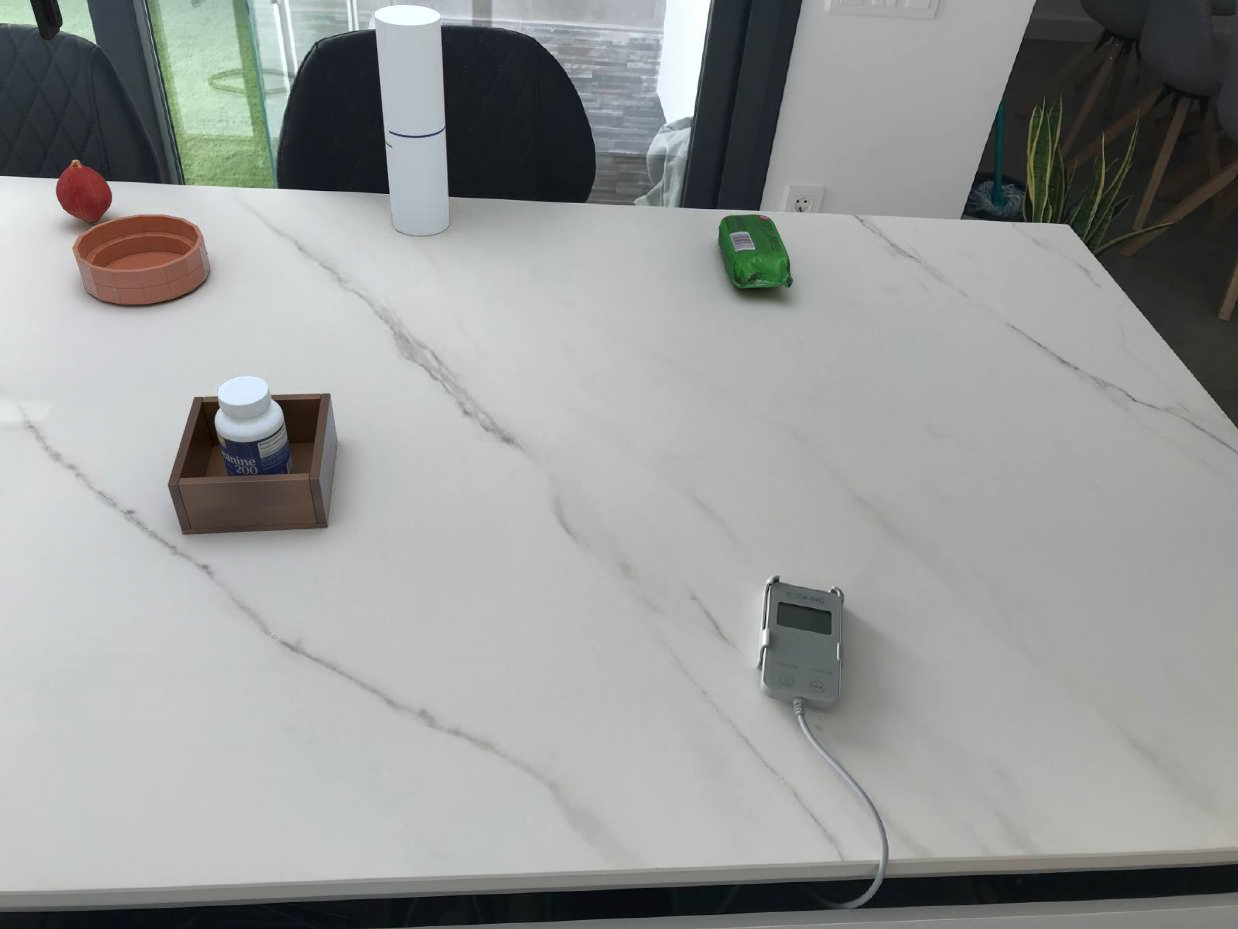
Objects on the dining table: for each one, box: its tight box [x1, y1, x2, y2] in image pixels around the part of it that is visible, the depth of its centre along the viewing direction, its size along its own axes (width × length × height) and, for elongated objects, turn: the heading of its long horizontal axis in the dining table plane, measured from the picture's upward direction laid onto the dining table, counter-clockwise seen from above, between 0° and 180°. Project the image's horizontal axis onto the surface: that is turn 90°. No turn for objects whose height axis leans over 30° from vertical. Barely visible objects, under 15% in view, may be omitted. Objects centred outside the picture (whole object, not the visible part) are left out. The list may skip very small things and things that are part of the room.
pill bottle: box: [215, 375, 294, 476], centre depth 82 cm, size 5×5×10 cm
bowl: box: [71, 213, 211, 305], centre depth 109 cm, size 13×13×4 cm
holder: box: [167, 392, 338, 535], centre depth 84 cm, size 12×12×6 cm
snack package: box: [717, 213, 795, 289], centre depth 119 cm, size 7×16×5 cm, turn 4°
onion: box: [55, 159, 113, 225], centre depth 116 cm, size 6×6×8 cm
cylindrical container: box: [373, 4, 450, 237], centre depth 116 cm, size 7×7×25 cm
